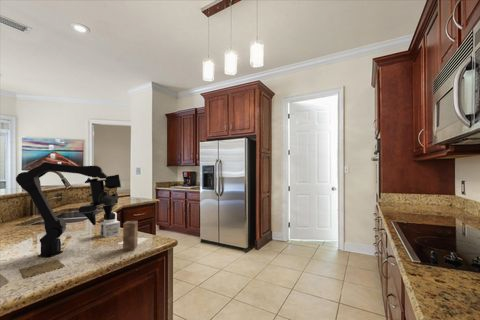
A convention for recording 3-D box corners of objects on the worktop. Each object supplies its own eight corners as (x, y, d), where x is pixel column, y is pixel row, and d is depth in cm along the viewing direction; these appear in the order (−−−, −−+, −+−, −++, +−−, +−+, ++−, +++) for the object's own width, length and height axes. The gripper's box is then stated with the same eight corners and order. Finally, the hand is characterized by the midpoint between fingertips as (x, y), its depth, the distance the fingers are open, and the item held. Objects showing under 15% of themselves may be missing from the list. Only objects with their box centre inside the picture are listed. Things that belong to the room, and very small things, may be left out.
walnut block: (122, 251, 103) (123, 223, 104) (126, 248, 108) (126, 221, 108) (134, 251, 104) (134, 223, 104) (137, 247, 109) (137, 220, 109)
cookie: (57, 260, 95) (57, 257, 95) (65, 268, 87) (66, 265, 87) (18, 270, 86) (18, 267, 86) (23, 280, 78) (24, 277, 78)
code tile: (136, 245, 111) (136, 245, 111) (116, 244, 113) (116, 243, 113) (148, 238, 122) (148, 238, 122) (131, 237, 124) (131, 237, 124)
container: (105, 238, 123) (106, 214, 124) (99, 235, 128) (100, 212, 129) (120, 234, 130) (120, 212, 130) (114, 232, 134) (114, 210, 135)
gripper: (97, 193, 99) (101, 227, 99) (125, 186, 117) (128, 215, 118) (75, 195, 101) (80, 228, 101) (106, 188, 119) (110, 216, 119)
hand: (101, 221), depth 110 cm, fingers open, 9 cm apart
